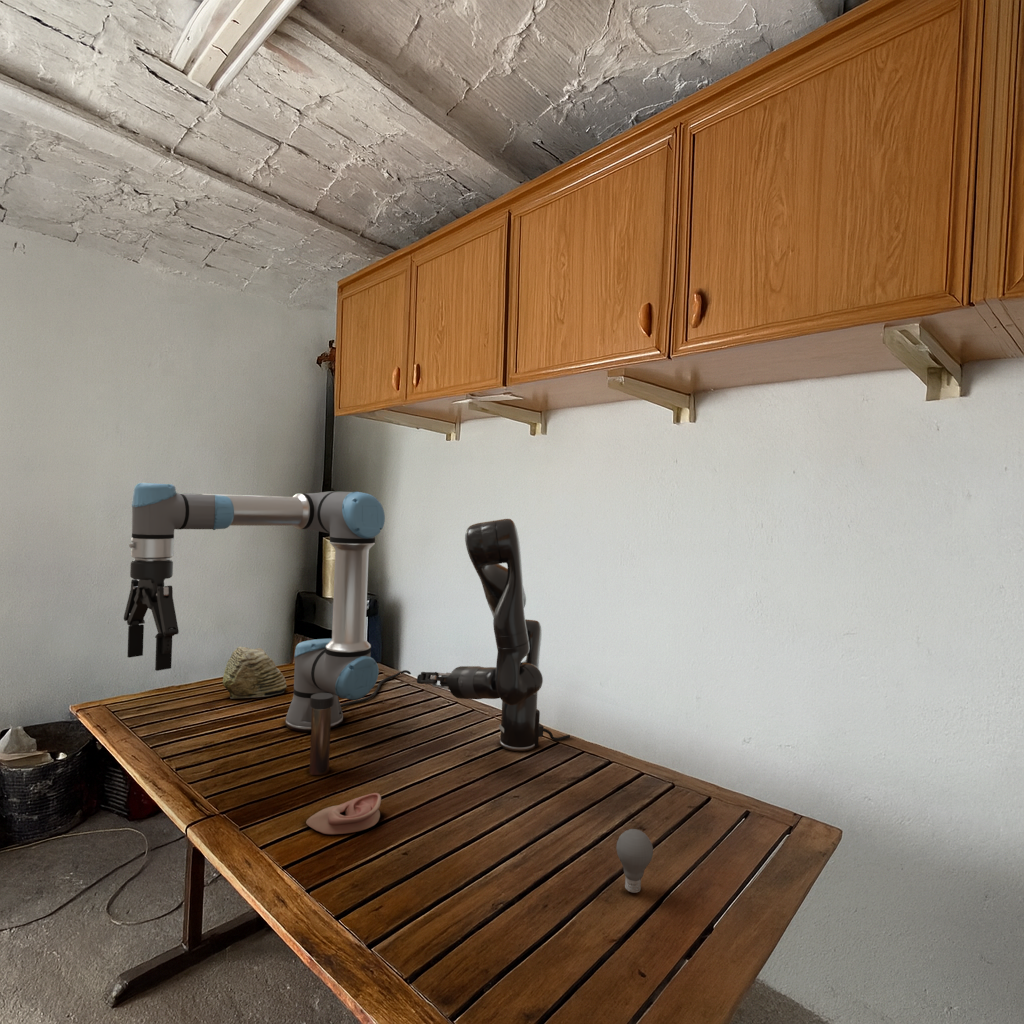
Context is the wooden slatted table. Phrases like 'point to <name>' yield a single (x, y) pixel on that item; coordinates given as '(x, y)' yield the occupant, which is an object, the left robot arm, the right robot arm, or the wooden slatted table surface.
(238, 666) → the fossil
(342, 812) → the anatomical model
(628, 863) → the light bulb
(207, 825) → the wooden slatted table surface
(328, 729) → the dark brown cylindrical piece
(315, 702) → the lid
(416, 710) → the wooden slatted table surface
